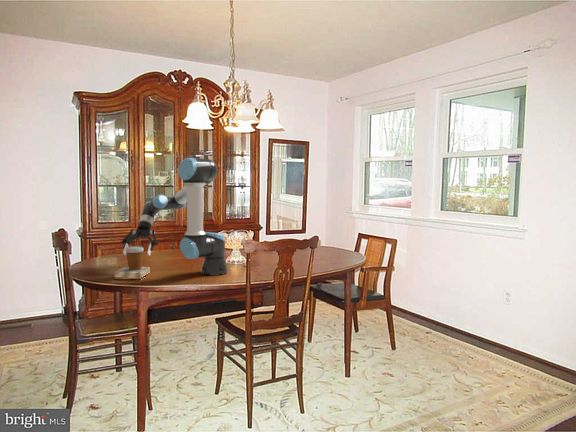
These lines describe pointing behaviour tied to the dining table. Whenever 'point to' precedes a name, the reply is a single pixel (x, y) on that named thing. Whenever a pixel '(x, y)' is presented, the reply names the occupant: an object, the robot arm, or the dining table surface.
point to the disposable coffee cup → (134, 257)
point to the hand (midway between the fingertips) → (136, 254)
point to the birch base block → (131, 272)
